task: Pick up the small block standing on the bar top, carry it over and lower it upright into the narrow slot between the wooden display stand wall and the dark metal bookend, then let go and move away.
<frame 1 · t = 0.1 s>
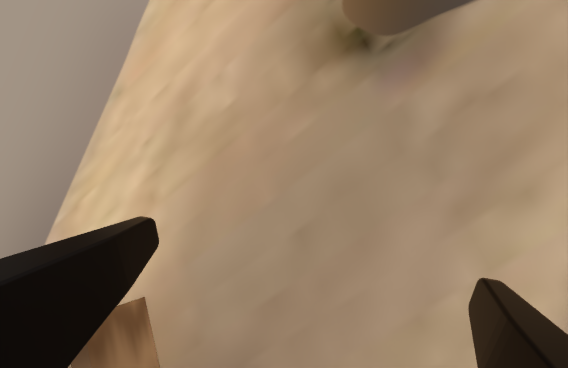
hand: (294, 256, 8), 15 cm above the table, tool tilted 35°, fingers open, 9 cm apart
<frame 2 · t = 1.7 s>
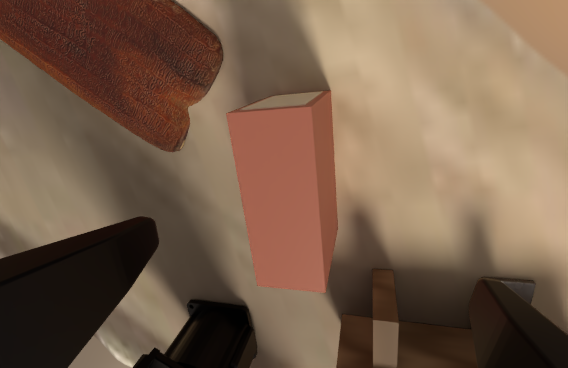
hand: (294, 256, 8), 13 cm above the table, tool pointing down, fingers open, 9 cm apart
wooden display stand: (434, 300, 22), on the table
wooden tablet: (61, 5, 22), on the table
bookend: (516, 338, 19), on the table
block: (306, 165, 21), on the table
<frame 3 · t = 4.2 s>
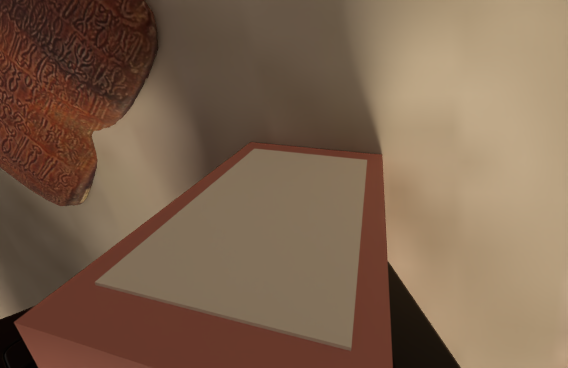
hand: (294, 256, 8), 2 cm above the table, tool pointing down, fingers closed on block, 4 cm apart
block: (306, 276, 11), on the table, touching gripper
when the fingers open (3 cm above the table, at t = 9.9 s): block drops 1 cm, on the table.
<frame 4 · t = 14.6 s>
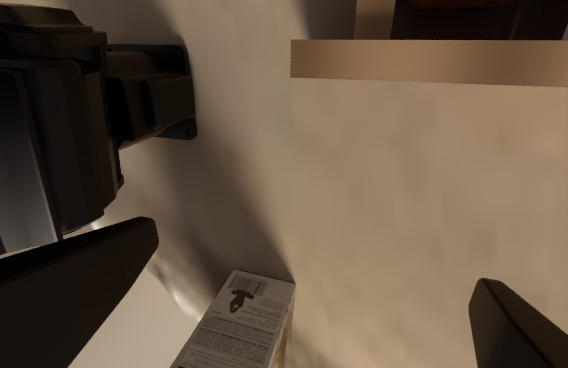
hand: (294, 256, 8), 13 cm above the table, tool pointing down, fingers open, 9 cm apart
coffee box: (263, 308, 29), on the table
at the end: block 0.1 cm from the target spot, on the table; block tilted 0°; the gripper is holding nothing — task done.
